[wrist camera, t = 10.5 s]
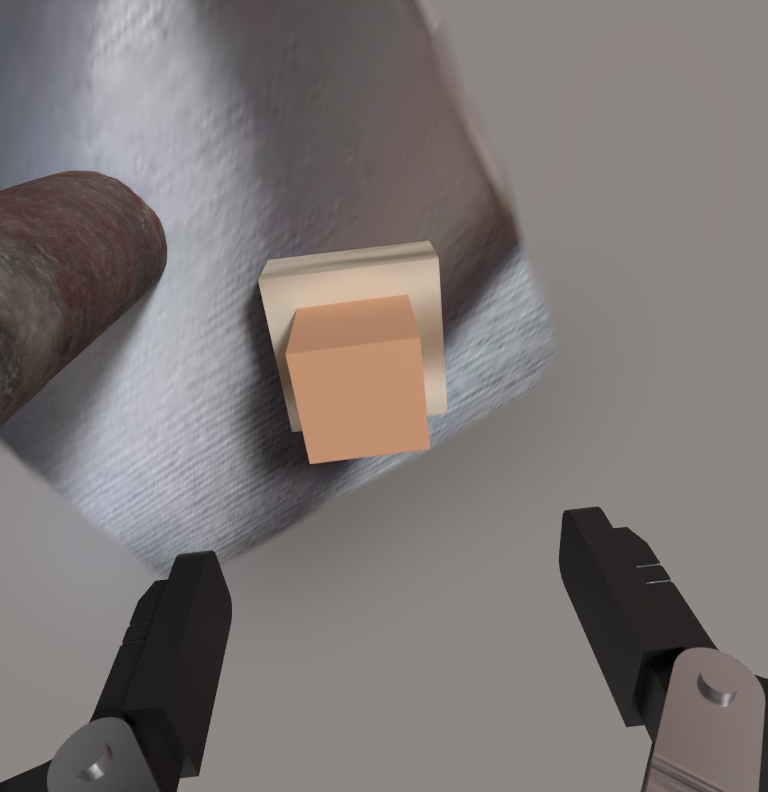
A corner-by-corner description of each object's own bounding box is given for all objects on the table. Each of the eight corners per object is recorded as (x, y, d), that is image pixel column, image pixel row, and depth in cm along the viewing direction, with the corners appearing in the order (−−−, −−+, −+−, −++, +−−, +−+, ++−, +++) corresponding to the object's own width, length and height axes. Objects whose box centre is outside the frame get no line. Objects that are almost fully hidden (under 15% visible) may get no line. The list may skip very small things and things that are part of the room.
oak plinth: (268, 259, 32) (257, 279, 28) (428, 240, 32) (438, 258, 28) (297, 400, 37) (292, 432, 33) (438, 383, 37) (447, 413, 33)
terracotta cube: (297, 308, 29) (285, 354, 24) (407, 294, 29) (420, 337, 24) (316, 404, 32) (309, 464, 27) (417, 391, 32) (430, 448, 27)
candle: (80, 318, 33) (-224, 567, 16) (-1, 200, 30) (-507, 348, 12) (193, 274, 32) (4, 485, 15) (122, 146, 29) (-234, 222, 11)
